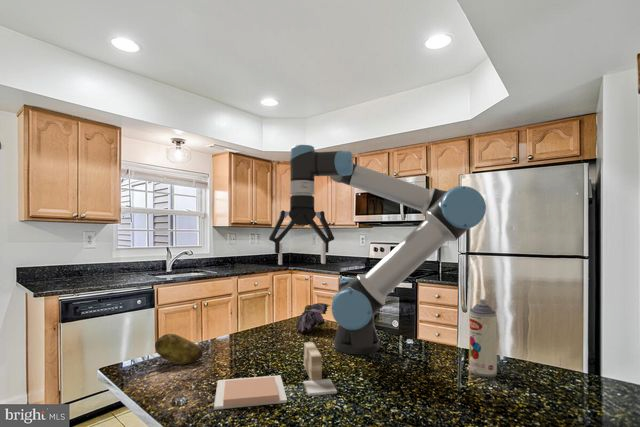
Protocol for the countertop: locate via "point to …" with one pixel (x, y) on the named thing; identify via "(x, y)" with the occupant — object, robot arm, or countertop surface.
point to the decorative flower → (312, 317)
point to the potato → (178, 349)
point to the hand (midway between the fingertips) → (302, 264)
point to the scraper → (315, 372)
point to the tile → (250, 391)
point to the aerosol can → (483, 340)
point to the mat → (220, 397)
